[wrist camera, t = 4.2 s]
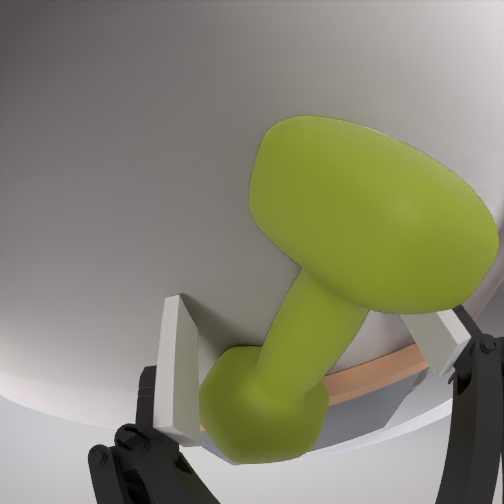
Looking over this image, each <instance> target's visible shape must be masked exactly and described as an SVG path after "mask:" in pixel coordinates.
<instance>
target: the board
mask: <svg viewBox="0 0 504 504" xmlns="http://www.w3.org/2000/svg"><path fill="white" fill-rule="evenodd" d="M420 372H421V371H419V372H417V373H415V374H413V375H411V376H409V377H406V378H404V379H402V380H400V381H397V382H395V383H393V384H390V385H388V386H385V387H383V388H380V389H378V390H375V391H372V392H370V393H367V394H364V395H362V396H359V397H356V398H353V399H350V400H347V401H344V402H341V403H338V404H335V405H331V406H328V409H327V413H326V417H325V421H324V424H323V427H322V430H321V433H320V435H319V438H318V440H317V442H316V444H315V445H314V446H313V447H312V448H311V450H309V451H308V452H310V451H314V450H317V449H321V448H325V447H328V446H332V445H335V444H338V443H341V442H344V441H347V440H350V439H353V438H356V437H359V436H362V435H365V434H367V433H370V432H373V431H375V430H378V429H380V428H382V427H384V426H385V425H386V423H387V422H388V421H389V419H390V418H391V417H392V415H393V414H394V412H395V411H396V410H397V408H398V407H399V405H400V404H401V402H402V401H403V399H404V398H405V396H406V395H407V393H408V392H409V390H410V389H411V387H412V386H413V384H414V382H415V381H416V379H417V377H418V376H419V374H420ZM200 435H201V446H202V447H203V448H205V449H206V450H208V451H210V452H211V453H213V454H215V455H216V456H218V457H220V458H221V459H223V460H225V461H227V462H228V463H230V464H232V465H240V463H236V462H233V461H231V460H230V459H228V458H227V457H226V456H225V455H224V454H223V453H222V452H221V451H220V449H219V448H218V447H217V446H216V445H215V443H214V442H213V441H212V439H211V438H210V437H209V435H208V434H207V432H206V431H200Z"/></svg>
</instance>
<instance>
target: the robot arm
mask: <svg viewBox="0 0 504 504" xmlns="http://www.w3.org/2000/svg"><path fill="white" fill-rule="evenodd" d="M399 316H400V318H401V319H402V321H403V322H404V324H405V326H406V327H407V329H408V331H409V332H410V334H411V336H412V337H413V339H414V341H415V343H416V344H417V346H418V348H419V350H420V351H421V353H422V355H423V357H424V358H425V360H426V362H427V364H428V366H429V368H430V369H431V371H432V373H433V375H434V377H435V379H437V378H439V377H441V376H442V375H444V374H446V373H448V372H449V371H450V369H451V368H452V366H454V368H455V372H454V373H453V374H452V376H451V378H450V379H449V381H448V384H450V383H451V382H452V380H453V379H454V382H453V404H452V417H451V427H450V435H449V442H448V450H447V455H446V460H445V466H444V471H443V475H442V480H441V484H440V488H439V492H438V496H437V499H436V503H435V504H492V500H493V496H494V491H495V487H496V481H497V476H498V469H499V462H500V454H501V456H502V474H503V497H502V499H503V500H502V501H503V504H504V337H499V338H494V337H493V336H491V335H489V334H483V333H482V332H481V331H480V330H479V328H478V327H477V325H476V324H475V322H474V321H473V320H472V318H471V317H470V315H469V314H468V313H467V311H466V310H464V307H463V306H462V305H461V304H460V305H458V306H456V307H454V308H452V309H449V310H446V311H440V312H434V313H428V314H414V315H409V314H399ZM114 442H115V446H112V447H109V448H108V447H106V446H104V445H95V446H93V447H92V448H91V449H90V451H89V454H88V464H89V469H90V474H91V479H92V484H93V488H94V492H95V496H96V500H97V504H220V503H219V501H218V500H217V499H216V498H215V497H214V496H213V494H212V493H211V492H210V491H209V489H208V488H207V487H206V486H205V484H204V483H203V482H202V481H201V479H200V478H199V477H198V475H197V474H196V473H195V471H194V470H193V468H192V467H191V466H190V464H189V463H188V462H187V460H186V459H185V457H184V456H183V454H182V453H181V452H179V444H180V445H182V446H183V447H192V446H201V435H200V415H199V386H198V329H197V327H196V325H195V323H194V322H193V320H192V318H191V316H190V314H189V312H188V310H187V308H186V307H185V305H184V303H183V301H182V299H181V297H180V295H175V296H171V297H166V298H165V302H164V309H163V316H162V324H161V332H160V341H159V350H158V360H157V365H156V366H148V367H145V368H144V370H143V372H142V374H141V376H140V381H139V390H138V400H137V411H136V423H135V424H129V423H128V424H125V425H122V426H121V427H120V428H119V429H118V430H117V432H116V434H115V439H114Z"/></svg>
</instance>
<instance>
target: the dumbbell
mask: <svg viewBox="0 0 504 504" xmlns="http://www.w3.org/2000/svg"><path fill="white" fill-rule="evenodd" d="M248 206H249V212H250V214H251V216H252V218H253V220H254V222H255V224H256V225H257V227H258V228H259V230H260V231H261V232H262V233H263V234H264V235H265V236H266V237H267V238H268V239H269V240H270V241H271V242H272V243H273V244H274V245H276V246H277V247H278V248H279V249H280V250H281V251H282V252H283V253H284V254H286V255H287V256H288V257H289V258H290V259H292V260H293V261H294V262H295V263H296V264H298V265H299V266H300V267H301V270H300V272H299V274H298V275H297V277H296V279H295V280H294V282H293V284H292V285H291V287H290V288H289V290H288V292H287V294H286V296H285V298H284V300H283V302H282V304H281V306H280V308H279V310H278V312H277V314H276V316H275V319H274V321H273V323H272V325H271V327H270V329H269V332H268V334H267V336H266V339H265V341H264V343H263V346H262V347H261V346H239V347H232V348H230V349H228V350H227V351H225V352H224V353H223V354H222V355H221V356H220V358H219V359H218V360H217V362H216V363H215V364H214V366H213V367H212V369H211V370H210V372H209V373H208V375H207V376H206V378H205V379H204V381H203V383H202V384H201V386H200V388H199V415H200V423H201V425H202V426H203V428H204V430H205V431H206V432H207V434H208V435H209V437H210V438H211V439H212V441H213V442H214V443H215V445H216V446H217V447H218V448H219V449H220V451H221V452H222V453H223V454H224V455H225V456H226V457H227V458H228V459H230V460H231V461H233V462H236V463H240V464H261V463H272V462H280V461H285V460H290V459H294V458H297V457H300V456H301V455H303V454H305V453H306V452H308V451H309V450H311V448H312V447H313V446H314V445H315V444H316V442H317V440H318V438H319V435H320V433H321V430H322V427H323V424H324V421H325V417H326V413H327V409H328V403H329V393H328V390H327V388H326V386H325V385H324V384H323V382H322V381H321V379H322V378H323V377H324V376H325V375H326V374H327V372H328V371H329V370H330V369H331V368H332V366H333V365H334V364H335V363H336V361H337V360H338V359H339V358H340V356H341V355H342V354H343V352H344V351H345V350H346V348H347V347H348V346H349V344H350V343H351V341H352V340H353V339H354V337H355V336H356V334H357V333H358V331H359V329H360V327H361V325H362V324H363V322H364V320H365V318H366V316H367V314H368V312H369V310H374V311H378V312H384V313H392V314H409V315H414V314H428V313H434V312H440V311H446V310H449V309H452V308H454V307H456V306H458V305H460V304H461V303H463V302H464V301H465V300H466V299H467V298H468V297H469V296H470V295H471V294H472V293H473V292H474V291H475V290H476V288H477V287H478V286H479V284H480V283H481V282H482V280H483V279H484V277H485V275H486V274H487V272H488V271H489V269H490V267H491V266H492V264H493V262H494V260H495V258H496V255H497V253H498V250H499V235H498V230H497V226H496V224H495V222H494V220H493V217H492V215H491V213H490V212H489V210H488V209H487V207H486V206H485V204H484V203H483V201H482V200H481V199H480V197H479V196H478V195H477V194H476V193H475V191H474V190H473V189H472V188H471V187H470V186H469V185H468V184H467V183H466V182H465V181H464V180H462V179H461V178H460V177H459V176H458V175H456V174H455V173H454V172H452V171H451V170H450V169H448V168H447V167H445V166H444V165H443V164H441V163H440V162H438V161H436V160H435V159H433V158H432V157H430V156H428V155H427V154H425V153H423V152H421V151H419V150H418V149H416V148H414V147H412V146H410V145H408V144H406V143H404V142H402V141H400V140H397V139H395V138H393V137H391V136H388V135H386V134H384V133H381V132H379V131H376V130H374V129H371V128H368V127H365V126H362V125H359V124H355V123H352V122H348V121H343V120H339V119H333V118H328V117H322V116H314V115H301V116H293V117H290V118H287V119H284V120H281V121H280V122H278V123H276V124H275V125H273V126H271V128H270V129H269V130H268V131H267V132H266V133H265V134H264V136H263V138H262V141H261V143H260V145H259V148H258V152H257V155H256V159H255V162H254V166H253V169H252V174H251V178H250V183H249V192H248Z"/></svg>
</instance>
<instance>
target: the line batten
mask: <svg viewBox="0 0 504 504" xmlns="http://www.w3.org/2000/svg"><path fill="white" fill-rule="evenodd" d="M428 367H429V366H428V364H427V362H426V360H425V358H424V357H423V355H422V353H421V351H420V350H419V348H418V346H417V344H416V343H415V344H412V345H410V346H408V347H405V348H403V349H401V350H398V351H396V352H393V353H391V354H388V355H386V356H383V357H380V358H378V359H375V360H372V361H370V362H367V363H364V364H361V365H358V366H355V367H352V368H349V369H346V370H343V371H340V372H337V373H334V374H330V375H327V376H324V377H323V378H322V379H321V381H322V382H323V384H324V385H325V386H326V388H327V390H328V393H329V403H328V406H331V405H335V404H338V403H341V402H344V401H347V400H350V399H353V398H356V397H359V396H362V395H364V394H367V393H370V392H372V391H375V390H378V389H380V388H383V387H385V386H388V385H390V384H393V383H395V382H397V381H400V380H402V379H404V378H406V377H409V376H411V375H413V374H415V373H417V372H419V371H422V370H424V369H426V368H428ZM200 431H205V430H204V428H203V426H202V425H201V423H200Z"/></svg>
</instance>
